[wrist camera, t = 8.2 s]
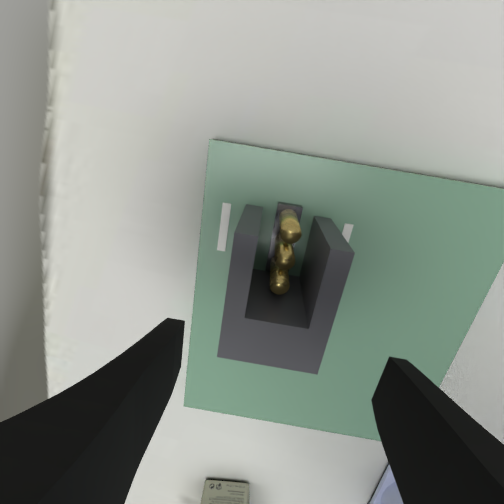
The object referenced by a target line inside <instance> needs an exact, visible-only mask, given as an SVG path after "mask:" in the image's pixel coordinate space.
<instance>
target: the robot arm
mask: <svg viewBox="0 0 504 504" xmlns="http://www.w3.org/2000/svg"><path fill="white" fill-rule="evenodd" d="M184 325H185V321H183V320H177V319H171V318H167V319H165V320H164V321H163V322H161V323H160V324H159V325H158V326H156V327H155V328H154V329H153V330H152V331H150V332H149V333H148V334H147V335H145V336H144V337H143V338H142V339H140V340H139V341H138V342H136V343H135V344H134V345H132V346H131V347H130V348H128V349H127V350H126V351H125V352H123V353H122V354H120V355H119V356H118V357H116V358H115V359H113V360H112V361H110V362H109V363H107V364H106V365H105V366H103V367H102V368H100V369H99V370H97V371H96V372H94V373H93V374H91V375H89V376H88V377H86V378H85V379H83V380H81V381H80V382H78V383H76V384H75V385H73V386H71V387H69V388H68V389H66V390H64V391H63V392H61V393H59V394H57V395H55V396H53V397H51V398H49V399H47V400H45V401H43V402H42V403H39V404H38V405H36V406H34V407H32V408H30V409H28V410H26V411H24V412H22V413H20V414H18V415H16V416H13V417H11V418H9V419H7V420H5V421H2V422H0V504H124V503H125V500H126V498H127V495H128V492H129V489H130V487H131V484H132V481H133V479H134V476H135V474H136V471H137V469H138V467H139V464H140V462H141V460H142V457H143V455H144V453H145V451H146V449H147V447H148V445H149V442H150V440H151V438H152V436H153V434H154V432H155V429H156V427H157V425H158V423H159V421H160V419H161V417H162V414H163V412H164V410H165V408H166V406H167V403H168V401H169V399H170V397H171V395H172V392H173V389H174V386H175V383H176V380H177V377H178V374H179V371H180V368H181V359H182V348H183V336H184ZM371 402H372V407H373V411H374V416H375V421H376V425H377V429H378V433H379V436H380V439H381V442H382V445H383V447H384V450H385V453H386V456H387V459H388V462H389V465H388V467H387V469H386V471H385V473H384V475H383V477H382V479H381V481H380V483H379V485H378V487H377V489H376V491H375V493H374V495H373V497H372V499H371V501H370V503H369V504H504V444H502V443H501V442H500V441H499V440H498V439H496V438H495V437H494V436H493V435H492V434H490V433H489V432H488V431H487V430H486V429H484V428H483V427H482V426H481V425H480V424H479V423H477V422H476V421H475V420H474V419H473V418H472V417H471V416H469V415H468V414H467V413H466V412H465V411H464V410H463V409H462V408H460V407H459V406H458V405H457V404H456V403H455V402H454V401H453V400H452V399H451V398H449V397H448V396H447V395H446V394H445V393H444V392H443V391H442V390H441V389H440V388H438V387H437V386H436V385H435V384H434V383H433V382H432V381H431V380H430V379H429V378H428V377H426V376H425V375H424V374H423V373H422V372H421V371H420V370H419V369H417V368H416V367H415V366H414V365H413V364H412V363H410V362H409V361H408V360H406V359H401V358H395V357H389V358H388V361H387V363H386V365H385V368H384V370H383V373H382V375H381V377H380V380H379V382H378V385H377V387H376V390H375V392H374V394H373V397H372V399H371Z"/></svg>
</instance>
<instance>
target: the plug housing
mask: <svg viewBox="0 0 504 504" xmlns="http://www.w3.org/2000/svg"><path fill="white" fill-rule="evenodd" d="M262 211H263V207H261V206H255V205H249V204H246V206H245V208H244V210H243V213H242V215H241V218H240V220H239V222H238V225H237V227H236V230H235V232H234V239H233V246H232V253H231V260H230V267H229V274H228V281H227V288H226V296H225V303H224V310H223V317H222V324H221V331H220V338H219V345H218V352H217V357H219V358H225V359H230V360H236V361H242V362H248V363H253V364H259V365H265V366H271V367H276V368H282V369H288V370H293V371H299V372H305V373H311V374H316V375H318V372H319V368H320V365H321V362H322V359H323V355H324V352H325V349H326V346H327V342H328V339H329V336H330V333H331V329H332V326H333V323H334V320H335V316H336V313H337V310H338V307H339V303H340V300H341V297H342V294H343V290H344V287H345V284H346V281H347V277H348V274H349V271H350V268H351V264H352V261H353V258H354V255H355V252H354V251H353V249H352V248H351V246H350V245H349V244H348V242H347V241H346V239H345V238H344V236H343V235H342V234H341V232H340V231H339V229H338V228H337V226H336V225H335V224H334V222H333V221H332V219H331V218H325V217H319V216H314V218H313V222H312V226H311V230H310V234H309V238H308V243H307V247H306V251H305V255H304V259H303V263H302V268H301V272H300V276H293V275H289V285H290V287H289V290H288V291H287V292H286V293H284V294H280V295H279V294H275V293H273V292H272V291H271V289H270V272H269V271H264V270H258V269H253V265H254V259H255V254H256V248H257V242H258V236H259V230H260V224H261V217H262Z"/></svg>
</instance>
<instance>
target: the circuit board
mask: <svg viewBox="0 0 504 504" xmlns="http://www.w3.org/2000/svg"><path fill="white" fill-rule="evenodd" d="M278 201H279V202H285V203H290V204H296V205H302V207H303V210H302V214H301V219H300V223H299V225H300V228H301V232H302V235H301V238H300V240H299V241H298V242H296V243H295V246H294V255H295V264H294V266H293V267H292V268H291V269H289V272H288V275H293V276H300V272H301V268H302V263H303V259H304V255H305V251H306V247H307V243H308V238H309V234H310V230H311V226H312V222H313V218H314V216H319V217H325V218H331V219H332V221H333V222H334V224H335V225H336V226H337V228H338V229H339V231H340V232H341V234H342V235H343V236H344V238H345V239H346V241H347V242H348V244H349V245H350V246H351V248H352V249H353V251H354V252H355V255H354V258H353V261H352V264H351V268H350V271H349V274H348V277H347V281H346V284H345V287H344V290H343V294H342V297H341V300H340V303H339V307H338V310H337V313H336V316H335V320H334V323H333V326H332V329H331V333H330V336H329V339H328V342H327V346H326V349H325V352H324V355H323V359H322V362H321V365H320V368H319V372H318V375H316V374H311V373H305V372H299V371H293V370H288V369H282V368H276V367H271V366H265V365H259V364H253V363H248V362H242V361H236V360H230V359H225V358H219V357H217V352H218V345H219V338H220V331H221V324H222V317H223V310H224V303H225V296H226V288H227V281H228V274H229V267H230V260H231V253H232V246H233V239H234V232H235V230H236V227H237V225H238V222H239V220H240V218H241V215H242V213H243V210H244V208H245V206H246V204H249V205H255V206H261V207H263V211H262V217H261V224H260V230H259V236H258V242H257V248H256V254H255V259H254V265H253V269H258V270H264V271H265V268H266V262H267V257H268V251H269V246H270V241H271V236H272V231H273V225H274V220H275V215H276V210H277V204H278ZM503 262H504V188H499V187H493V186H487V185H481V184H475V183H469V182H463V181H457V180H451V179H446V178H440V177H434V176H428V175H422V174H416V173H410V172H404V171H398V170H392V169H386V168H381V167H375V166H369V165H363V164H357V163H351V162H345V161H339V160H333V159H327V158H321V157H315V156H310V155H304V154H298V153H292V152H286V151H280V150H274V149H268V148H262V147H256V146H250V145H245V144H239V143H233V142H227V141H221V140H215V139H209V148H208V159H207V169H206V179H205V190H204V200H203V210H202V221H201V231H200V242H199V252H198V262H197V273H196V283H195V293H194V304H193V314H192V324H191V335H190V345H189V356H188V366H187V376H186V387H185V397H184V406H185V407H190V408H196V409H202V410H207V411H213V412H219V413H224V414H230V415H236V416H241V417H247V418H253V419H258V420H264V421H270V422H275V423H281V424H287V425H292V426H298V427H304V428H309V429H315V430H321V431H326V432H332V433H338V434H343V435H349V436H355V437H360V438H366V439H372V440H377V441H381V439H380V436H379V433H378V429H377V425H376V421H375V416H374V411H373V407H372V402H371V399H372V397H373V394H374V392H375V390H376V387H377V385H378V382H379V380H380V377H381V375H382V373H383V370H384V368H385V365H386V363H387V361H388V358H389V357H395V358H401V359H406V360H408V361H409V362H410V363H412V364H413V365H414V366H415V367H416V368H417V369H419V370H420V371H421V372H422V373H423V374H424V375H425V376H426V377H428V378H429V379H430V380H431V381H432V382H433V383H434V384H435V385H436V386H437V387H438V388H439V386H440V384H441V382H442V380H443V378H444V376H445V374H446V373H447V371H448V369H449V367H450V365H451V363H452V361H453V359H454V357H455V355H456V353H457V351H458V349H459V347H460V345H461V343H462V342H463V340H464V338H465V336H466V334H467V332H468V330H469V328H470V326H471V324H472V322H473V320H474V318H475V316H476V314H477V312H478V311H479V309H480V307H481V305H482V303H483V301H484V299H485V297H486V295H487V293H488V291H489V289H490V287H491V285H492V283H493V281H494V280H495V278H496V276H497V274H498V272H499V270H500V268H501V266H502V264H503Z"/></svg>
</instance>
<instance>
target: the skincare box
mask: <svg viewBox="0 0 504 504" xmlns="http://www.w3.org/2000/svg"><path fill="white" fill-rule="evenodd" d="M201 504H249V484H248V483H238V482H228V481H216V480H206V481H205V485H204V490H203V495H202V500H201Z"/></svg>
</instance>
